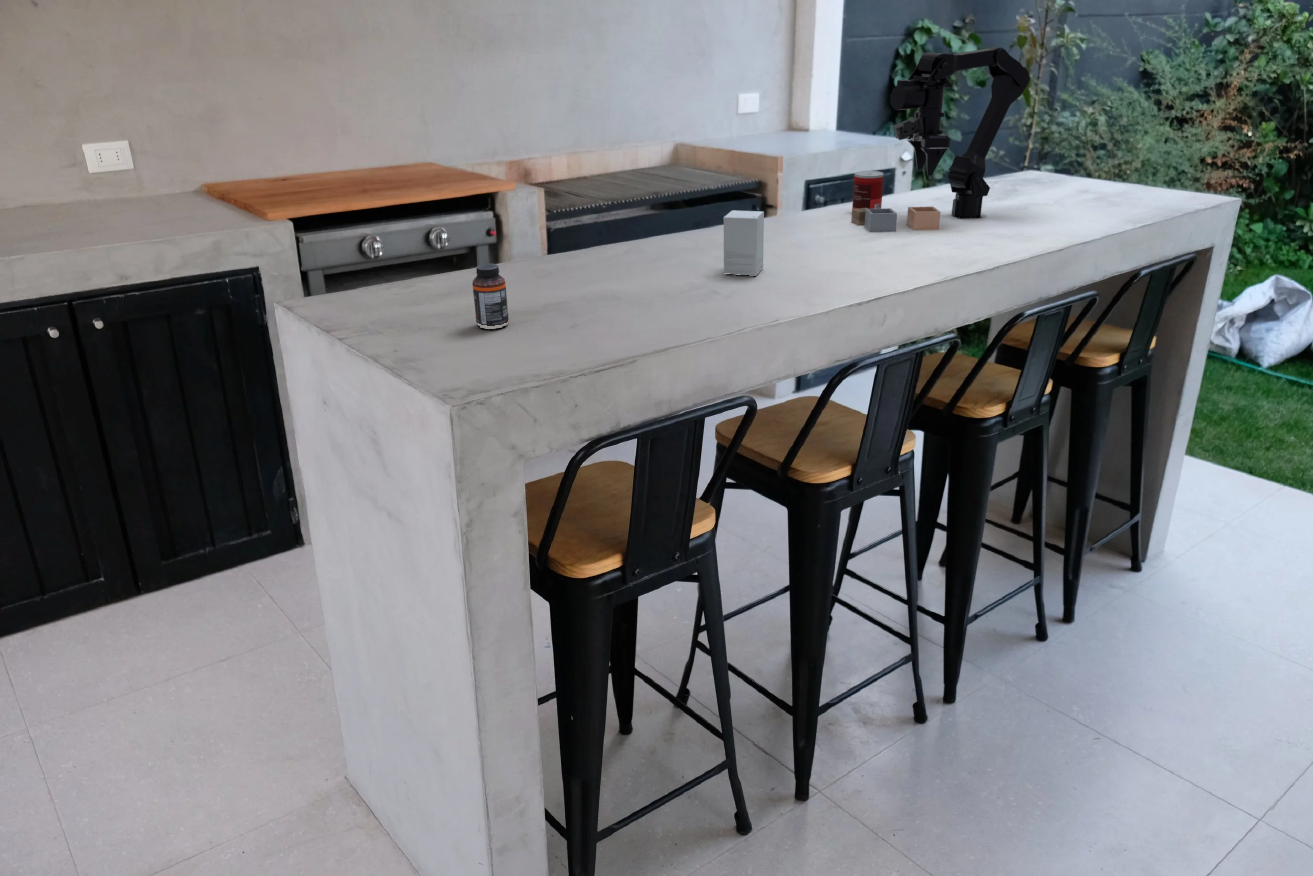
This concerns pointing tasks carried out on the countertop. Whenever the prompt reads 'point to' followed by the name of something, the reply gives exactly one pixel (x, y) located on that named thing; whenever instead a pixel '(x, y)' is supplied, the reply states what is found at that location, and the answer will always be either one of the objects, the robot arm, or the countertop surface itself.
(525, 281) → the countertop surface
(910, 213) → the pot
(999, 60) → the robot arm
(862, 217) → the walnut block
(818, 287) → the countertop surface
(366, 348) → the countertop surface
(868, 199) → the canned food
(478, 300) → the supplement bottle
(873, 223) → the grey open square bin
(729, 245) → the supplement box
